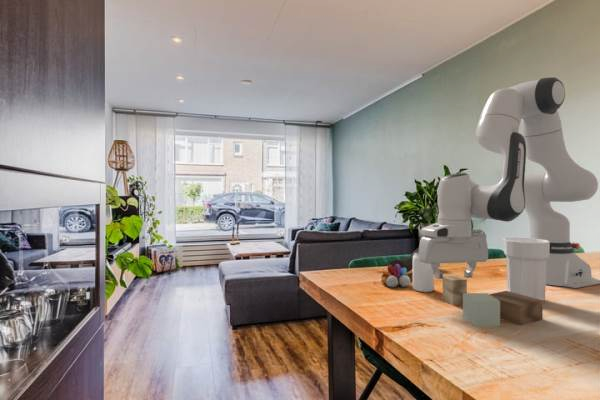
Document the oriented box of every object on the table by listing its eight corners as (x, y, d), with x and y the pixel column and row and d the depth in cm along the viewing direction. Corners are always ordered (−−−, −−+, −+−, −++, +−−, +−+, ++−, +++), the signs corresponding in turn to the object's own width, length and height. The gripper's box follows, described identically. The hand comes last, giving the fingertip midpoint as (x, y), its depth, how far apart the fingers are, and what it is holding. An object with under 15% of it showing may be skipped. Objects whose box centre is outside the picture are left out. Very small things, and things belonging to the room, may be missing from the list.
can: (435, 293, 103) (435, 255, 103) (414, 292, 104) (413, 254, 104) (431, 287, 110) (431, 251, 109) (411, 286, 111) (411, 251, 111)
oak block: (456, 299, 97) (456, 275, 97) (466, 304, 93) (466, 279, 93) (442, 300, 96) (442, 276, 96) (452, 305, 92) (452, 280, 92)
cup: (494, 296, 100) (494, 238, 100) (518, 291, 104) (518, 236, 104) (533, 307, 89) (533, 243, 89) (558, 301, 94) (558, 241, 94)
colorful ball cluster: (377, 282, 117) (377, 262, 117) (404, 281, 118) (403, 261, 118) (385, 289, 109) (385, 267, 109) (414, 288, 110) (414, 266, 109)
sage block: (487, 317, 83) (487, 293, 83) (500, 326, 77) (500, 301, 77) (462, 316, 84) (462, 293, 83) (473, 326, 78) (473, 300, 77)
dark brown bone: (424, 270, 144) (392, 291, 124) (412, 248, 146) (379, 266, 126) (446, 261, 137) (416, 283, 117) (432, 239, 139) (401, 256, 119)
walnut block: (506, 309, 89) (506, 290, 89) (542, 320, 81) (542, 300, 81) (484, 314, 85) (484, 295, 85) (520, 326, 77) (520, 305, 77)
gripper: (477, 228, 99) (477, 274, 99) (416, 229, 95) (415, 276, 95) (494, 230, 93) (493, 279, 93) (428, 231, 89) (428, 282, 89)
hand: (453, 277), depth 94 cm, fingers open, 8 cm apart
